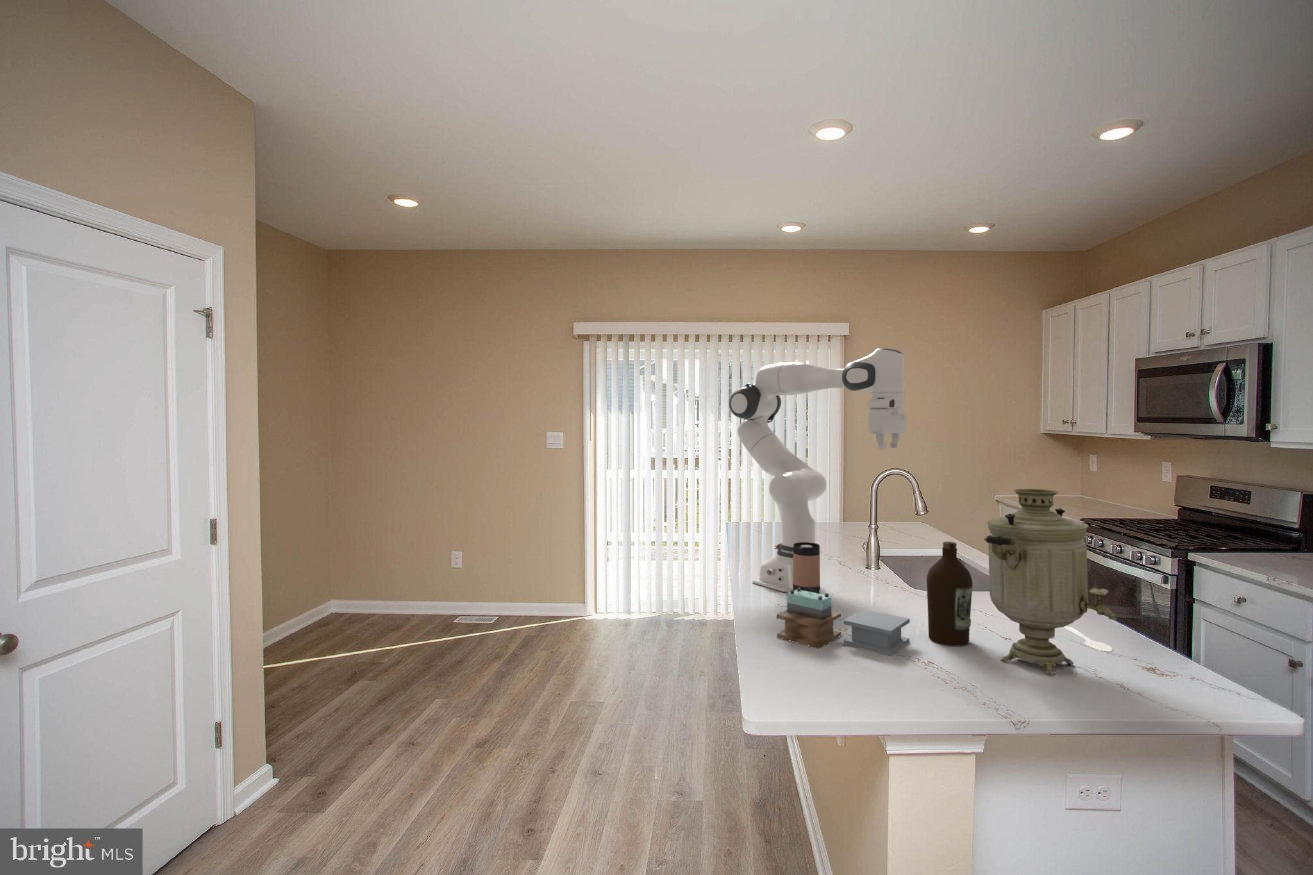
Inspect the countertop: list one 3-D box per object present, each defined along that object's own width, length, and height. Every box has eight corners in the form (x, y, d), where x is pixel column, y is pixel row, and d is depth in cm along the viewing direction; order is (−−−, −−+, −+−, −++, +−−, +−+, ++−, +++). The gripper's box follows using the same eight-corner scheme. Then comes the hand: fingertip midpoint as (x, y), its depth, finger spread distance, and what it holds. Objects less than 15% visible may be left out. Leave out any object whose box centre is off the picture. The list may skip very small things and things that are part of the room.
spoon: (1076, 628, 170) (1076, 626, 170) (1119, 653, 153) (1119, 651, 153) (1055, 627, 171) (1055, 625, 171) (1095, 652, 153) (1095, 650, 153)
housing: (787, 612, 165) (787, 590, 165) (796, 607, 169) (796, 586, 169) (822, 620, 159) (822, 598, 159) (831, 615, 162) (831, 593, 162)
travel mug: (817, 609, 187) (817, 542, 186) (821, 617, 179) (822, 547, 179) (791, 608, 188) (791, 541, 187) (794, 617, 180) (794, 547, 179)
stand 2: (843, 643, 159) (843, 620, 159) (863, 631, 168) (863, 609, 168) (890, 655, 151) (891, 630, 151) (909, 641, 160) (909, 618, 160)
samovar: (1041, 700, 127) (1045, 502, 126) (948, 653, 152) (950, 488, 151) (1153, 683, 135) (1158, 496, 133) (1047, 641, 160) (1050, 483, 159)
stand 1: (776, 637, 164) (776, 614, 163) (799, 625, 173) (799, 603, 172) (819, 648, 156) (819, 624, 155) (841, 635, 165) (841, 612, 164)
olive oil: (917, 637, 163) (918, 541, 162) (941, 630, 169) (942, 536, 168) (956, 650, 154) (957, 548, 153) (980, 641, 160) (981, 543, 159)
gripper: (891, 403, 198) (890, 446, 199) (864, 402, 183) (863, 449, 184) (911, 402, 194) (911, 447, 195) (885, 401, 179) (885, 450, 179)
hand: (888, 448), depth 189 cm, fingers open, 8 cm apart
